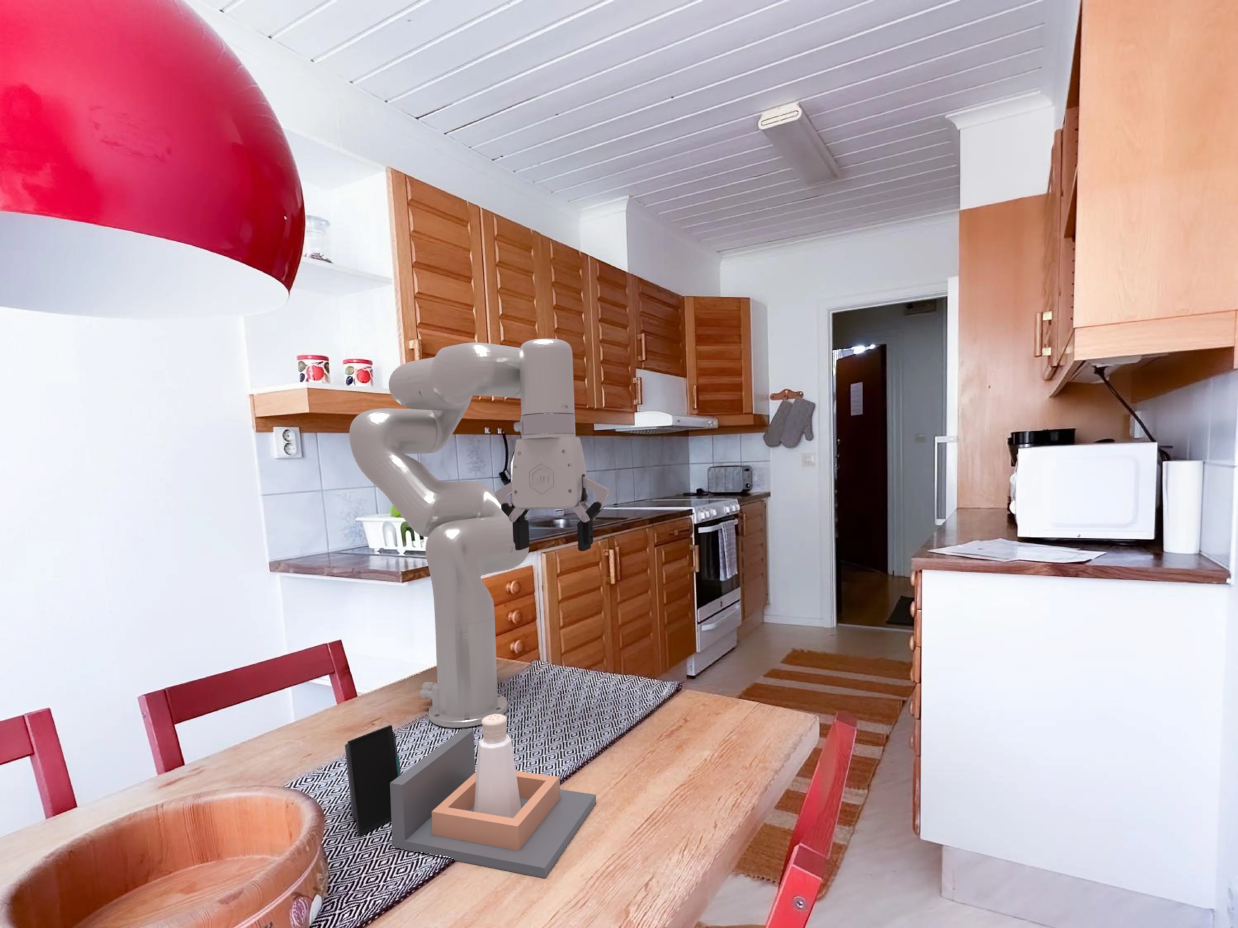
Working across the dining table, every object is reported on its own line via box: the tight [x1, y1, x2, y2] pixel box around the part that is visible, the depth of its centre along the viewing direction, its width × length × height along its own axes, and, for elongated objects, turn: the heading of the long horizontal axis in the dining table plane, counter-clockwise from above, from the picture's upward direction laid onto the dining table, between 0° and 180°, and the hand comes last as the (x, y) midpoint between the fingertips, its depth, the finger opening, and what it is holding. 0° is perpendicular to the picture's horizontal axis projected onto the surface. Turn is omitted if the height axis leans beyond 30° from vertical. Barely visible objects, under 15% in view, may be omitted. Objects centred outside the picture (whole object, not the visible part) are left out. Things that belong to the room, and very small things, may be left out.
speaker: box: [344, 724, 402, 837], centre depth 75 cm, size 8×6×10 cm
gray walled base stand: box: [390, 728, 597, 879], centre depth 71 cm, size 18×14×7 cm
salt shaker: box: [474, 714, 521, 818], centre depth 72 cm, size 5×5×11 cm
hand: (553, 549), depth 90 cm, fingers open, 9 cm apart
